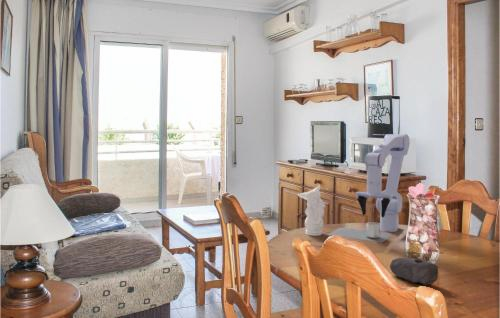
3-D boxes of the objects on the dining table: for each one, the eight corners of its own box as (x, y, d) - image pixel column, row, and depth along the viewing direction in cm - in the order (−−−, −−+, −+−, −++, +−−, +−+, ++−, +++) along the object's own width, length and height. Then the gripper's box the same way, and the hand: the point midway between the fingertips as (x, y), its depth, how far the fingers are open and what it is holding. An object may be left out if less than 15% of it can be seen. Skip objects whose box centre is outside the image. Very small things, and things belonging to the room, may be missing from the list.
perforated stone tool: (385, 275, 136) (385, 253, 136) (395, 272, 139) (395, 251, 139) (429, 290, 124) (430, 266, 124) (439, 286, 127) (440, 262, 127)
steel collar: (368, 233, 181) (368, 221, 181) (381, 235, 178) (381, 223, 178) (364, 236, 177) (364, 224, 176) (377, 238, 174) (377, 225, 173)
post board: (340, 230, 195) (340, 216, 195) (392, 237, 183) (393, 222, 183) (326, 238, 182) (327, 223, 181) (382, 246, 170) (383, 229, 169)
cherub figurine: (318, 241, 177) (318, 187, 176) (290, 237, 184) (291, 185, 182) (329, 235, 188) (330, 184, 186) (302, 231, 194) (303, 182, 192)
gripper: (353, 182, 176) (352, 215, 177) (390, 184, 169) (389, 219, 170) (358, 180, 182) (358, 212, 183) (394, 182, 175) (393, 216, 176)
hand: (373, 215), depth 177 cm, fingers open, 7 cm apart
